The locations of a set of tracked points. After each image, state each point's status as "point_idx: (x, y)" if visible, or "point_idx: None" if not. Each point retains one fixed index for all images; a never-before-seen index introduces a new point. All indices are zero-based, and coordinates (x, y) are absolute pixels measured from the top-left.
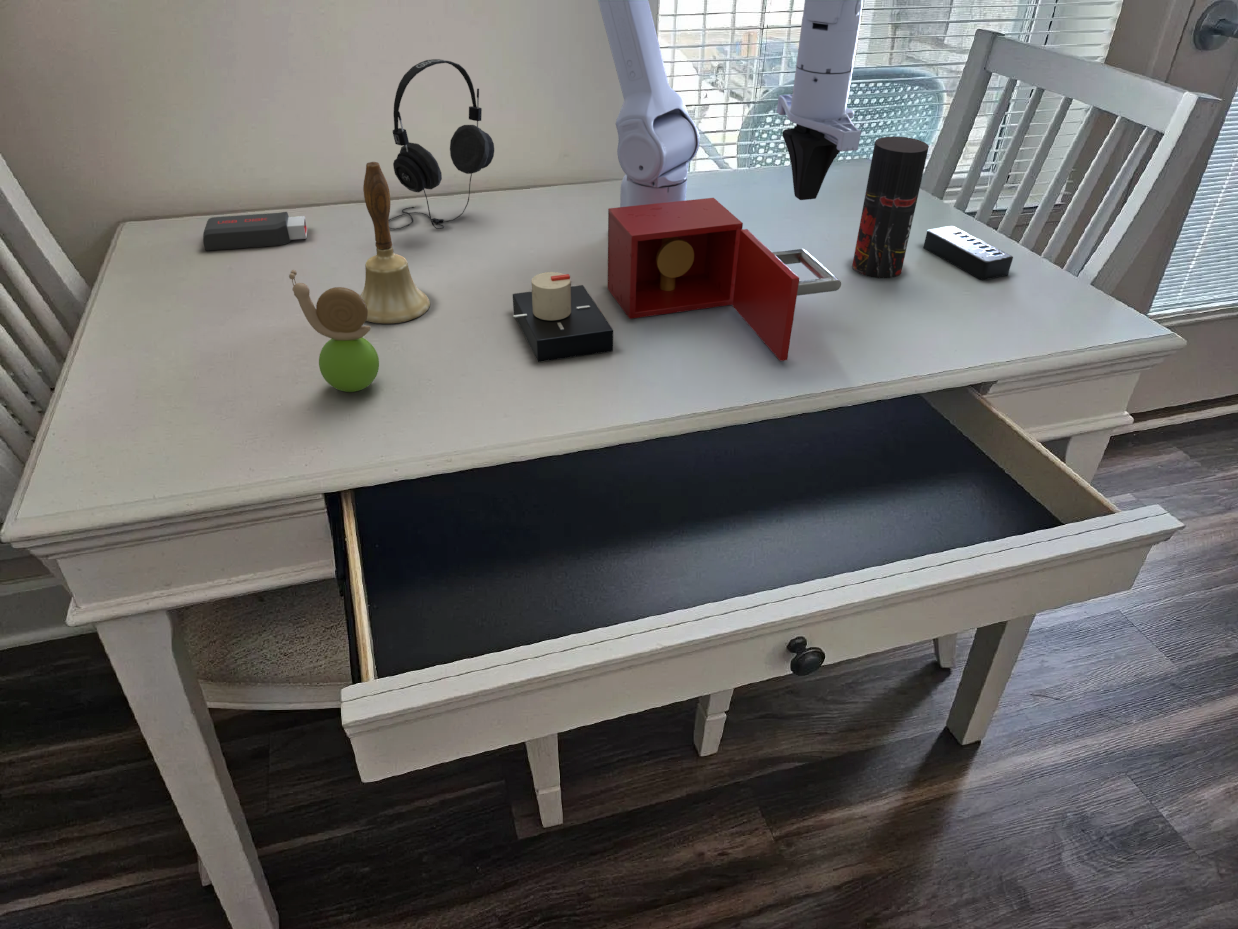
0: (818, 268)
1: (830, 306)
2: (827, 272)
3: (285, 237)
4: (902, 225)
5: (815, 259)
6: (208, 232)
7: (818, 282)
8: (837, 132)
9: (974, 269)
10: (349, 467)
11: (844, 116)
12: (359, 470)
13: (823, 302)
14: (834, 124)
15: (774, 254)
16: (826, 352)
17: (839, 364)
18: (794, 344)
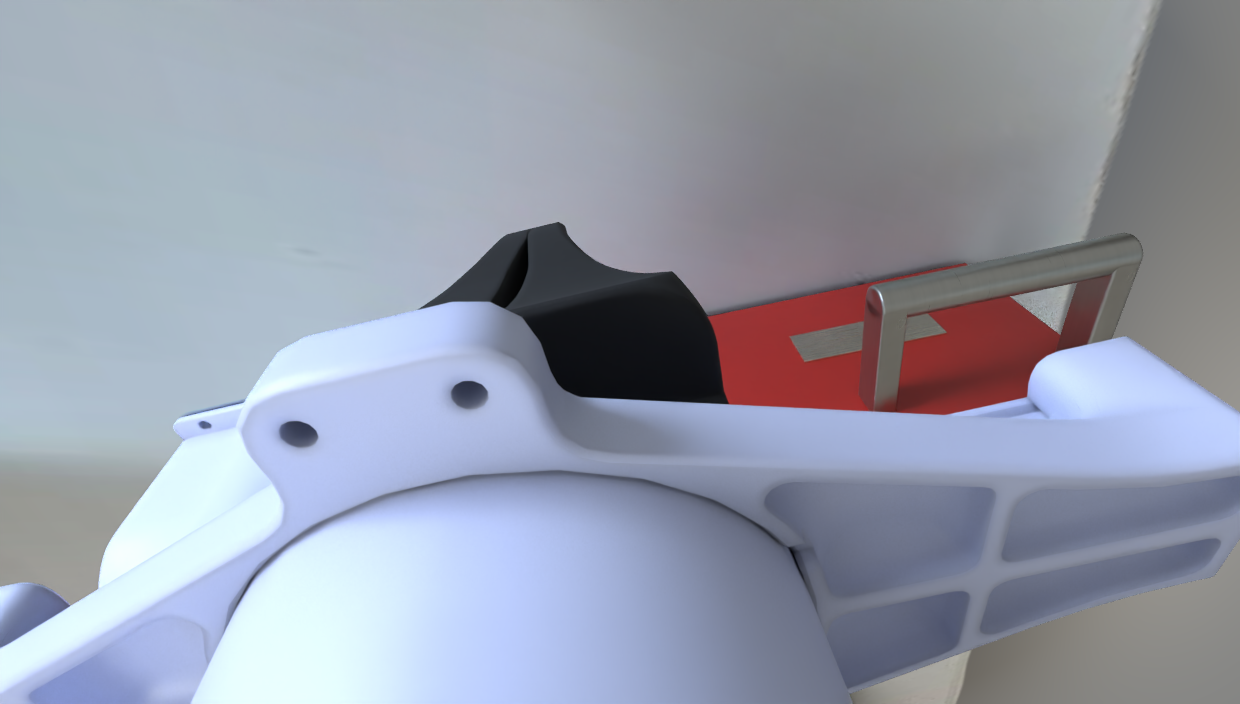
0: (1031, 291)
1: (714, 61)
2: (1080, 275)
3: None
4: None
5: (973, 287)
6: None
7: (1119, 315)
8: (1098, 579)
9: None
10: (952, 678)
11: (728, 500)
12: (961, 673)
13: (684, 77)
14: (976, 608)
15: (893, 394)
16: (952, 154)
17: (1015, 137)
18: (888, 222)
